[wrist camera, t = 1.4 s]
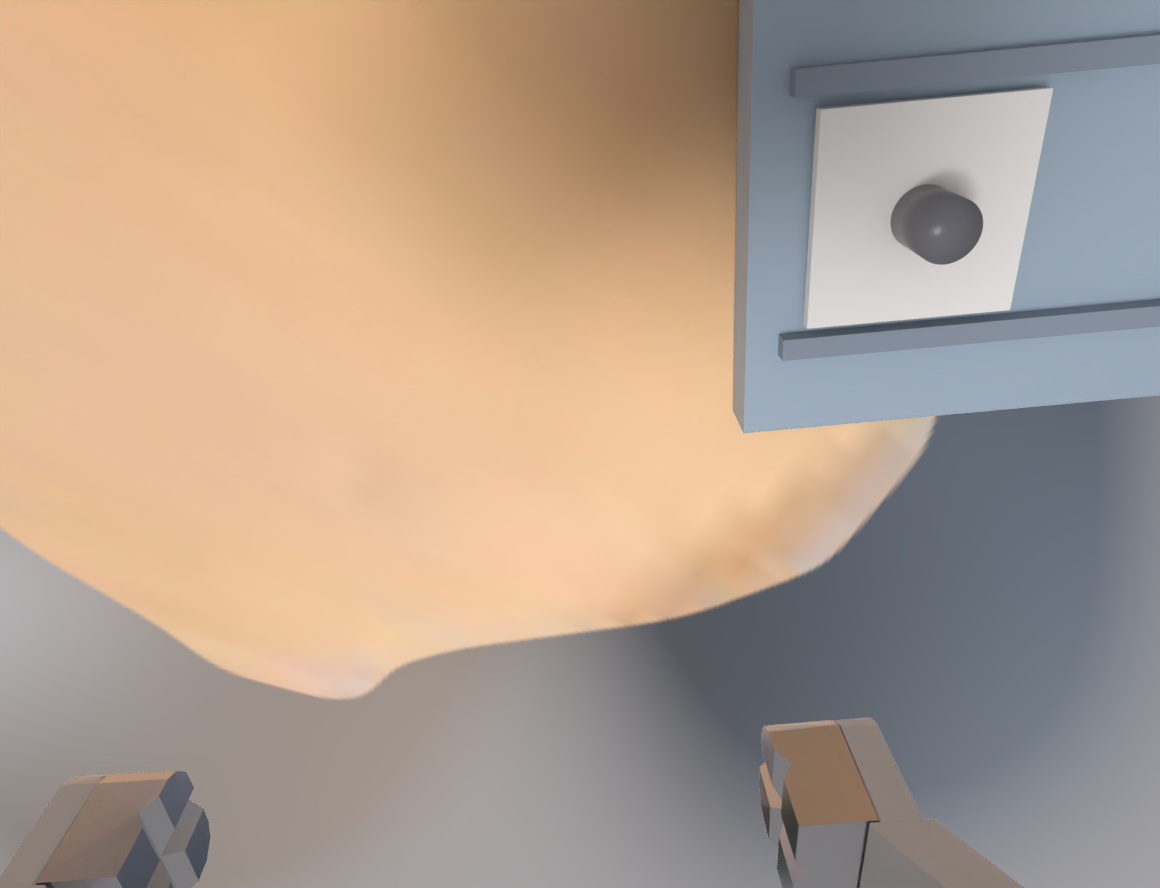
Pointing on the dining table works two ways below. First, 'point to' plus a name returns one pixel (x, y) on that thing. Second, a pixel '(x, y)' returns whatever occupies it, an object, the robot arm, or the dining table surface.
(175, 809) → the robot arm
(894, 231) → the lid
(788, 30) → the puzzle board
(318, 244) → the dining table surface
